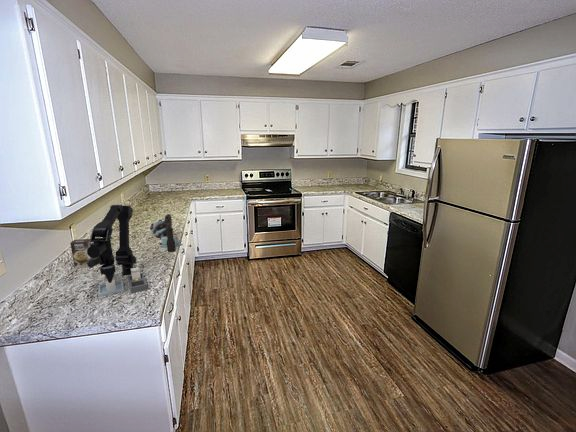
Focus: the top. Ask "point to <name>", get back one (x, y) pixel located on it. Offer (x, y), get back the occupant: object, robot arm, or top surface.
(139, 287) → the grey boxy piece
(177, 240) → the dark tall piece
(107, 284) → the plug
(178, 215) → the top surface
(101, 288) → the tray
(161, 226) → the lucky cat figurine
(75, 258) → the coffee box
